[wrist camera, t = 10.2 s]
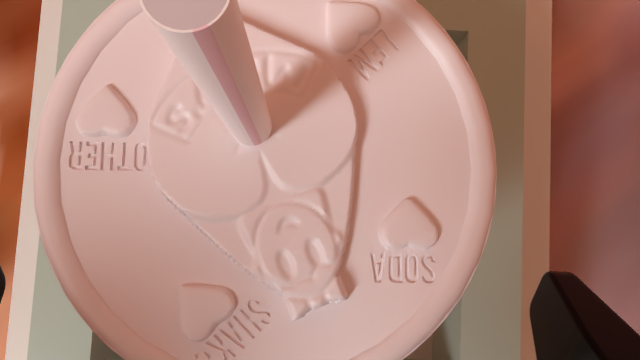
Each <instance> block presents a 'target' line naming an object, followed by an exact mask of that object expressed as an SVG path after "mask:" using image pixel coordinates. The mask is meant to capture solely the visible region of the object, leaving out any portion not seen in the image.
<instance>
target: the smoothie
mask: <svg viewBox="0 0 640 360" xmlns="http://www.w3.org/2000/svg"><path fill="white" fill-rule="evenodd" d="M496 178H497V167H496V152H495V144H494V138H493V131H492V126H491V122H490V118H489V115H488V111H487V107H486V104H485V101H484V98H483V96H482V93H481V90H480V88H479V85H478V83H477V81H476V79H475V77H474V75H473V73H472V71H471V69H470V66H469V65H468V63H467V61H466V60H465V58H464V56H463V55H462V53H461V51H460V50H459V48H458V47H457V45H456V44H455V43H454V41H453V40H452V39H451V37H450V36H449V35H448V33H447V32H446V31H445V29H444V28H443V27H442V26H441V25H440V24H439V23H438V22H437V20H436V19H435V18H434V17H433V16H432V15H431V14H430V13H429V12H428V11H427V10H426V9H425V8H424V7H423V6H421V5H420V4H419V3H418V2H417V1H416V0H116V1H114V2H113V3H112V4H111V5H110V6H109V7H108V8H107V9H106V10H105V11H103V12H102V13H101V14H100V15H99V16H98V17H97V18H96V19H95V20H94V21H93V23H92V24H91V25H90V26H89V27H88V29H87V30H86V31H85V32H84V33H83V34H82V36H81V37H80V38H79V40H78V41H77V43H76V44H75V45H74V47H73V48H72V50H71V51H70V53H69V54H68V55H67V57H66V59H65V61H64V63H63V64H62V66H61V68H60V70H59V72H58V73H57V75H56V77H55V80H54V82H53V84H52V87H51V89H50V91H49V93H48V96H47V99H46V102H45V105H44V108H43V111H42V114H41V117H40V122H39V126H38V131H37V136H36V141H35V149H34V158H33V195H34V207H35V213H36V218H37V223H38V229H39V233H40V236H41V240H42V243H43V246H44V250H45V253H46V255H47V258H48V260H49V263H50V265H51V268H52V270H53V272H54V275H55V277H56V278H57V280H58V282H59V284H60V286H61V288H62V290H63V292H64V293H65V295H66V297H67V298H68V300H69V301H70V303H71V304H72V306H73V307H74V309H75V310H76V311H77V313H78V314H79V316H80V317H81V318H82V319H83V320H84V322H85V323H86V324H87V325H88V326H89V328H90V329H91V330H92V331H93V332H94V333H95V334H96V335H97V336H98V337H99V338H100V339H101V340H102V341H103V342H104V343H105V344H106V345H107V346H108V347H109V348H110V349H111V350H113V351H114V352H115V353H117V354H118V355H119V356H120V357H122V358H123V359H124V360H403V359H404V358H405V357H407V356H408V355H409V354H411V353H412V352H413V351H414V350H416V349H417V348H418V347H419V346H420V345H421V344H422V343H423V342H424V341H425V340H426V339H427V338H429V337H430V336H431V335H432V333H433V332H434V331H435V330H436V329H437V328H438V327H439V326H440V324H441V323H442V322H443V321H444V320H445V319H446V318H447V316H448V315H449V313H450V312H451V311H452V309H453V308H454V306H455V305H456V304H457V302H458V301H459V300H460V298H461V296H462V294H463V293H464V291H465V289H466V288H467V286H468V284H469V282H470V281H471V279H472V277H473V274H474V272H475V270H476V268H477V266H478V263H479V261H480V259H481V256H482V253H483V250H484V247H485V244H486V241H487V239H488V235H489V231H490V226H491V222H492V218H493V212H494V204H495V197H496Z"/></svg>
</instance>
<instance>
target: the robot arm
mask: <svg viewBox="0 0 640 360" xmlns="http://www.w3.org/2000/svg"><path fill="white" fill-rule="evenodd" d="M4 290H5V276H4V273H3V271H2V268H1V266H0V302H1V300H2V297H3V294H4ZM530 321H531V328H532V334H533V340H534V346H535V352H536V358H537V360H640V335H639V334H638V333H636V332H635V331H634V330H633V329H632V328H631V327H630V326H629V325H628V324H627V323H626V322H625V321H624V320H623V319H622V318H620V317H619V316H618V315H617V314H616V313H615V312H614V311H613V310H612V309H611V308H610V307H609V306H608V305H607V304H605V303H604V302H603V301H602V300H601V299H600V298H599V297H598V296H597V295H596V294H595V293H594V292H593V291H592V290H591V289H589V288H588V287H587V286H586V285H585V284H584V283H583V282H582V281H581V280H580V279H579V278H578V277H577V276H575V275H574V274H572V273H570V272H558V271H548V272H546V273H545V274H544V275H543V276H542V278H541V281H540V283H539V285H538V287H537V290H536V292H535V294H534V296H533V298H532V301H531V304H530Z"/></svg>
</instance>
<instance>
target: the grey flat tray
mask: <svg viewBox="0 0 640 360" xmlns="http://www.w3.org/2000/svg"><path fill="white" fill-rule="evenodd" d="M114 1H116V0H42V8H41V18H40V27H39V37H38V47H37V56H36V66H35V75H34V85H33V95H32V104H31V114H30V124H29V133H28V143H27V153H26V162H25V172H24V182H23V191H22V201H21V211H20V220H19V230H18V239H17V249H16V259H15V268H14V278H13V288H12V297H11V307H10V317H9V326H8V336H7V346H6V355H5V360H124V359H123V358H122V357H120V356H119V355H118V354H117V353H115V352H114V351H113V350H111V349H110V348H109V347H108V346H107V345H106V344H105V343H104V342H103V341H102V340H101V339H100V338H99V337H98V336H97V335H96V334H95V333H94V332H93V331H92V330H91V329H90V328H89V326H88V325H87V324H86V323H85V322H84V320H83V319H82V318H81V317H80V316H79V314H78V313H77V311H76V310H75V309H74V307H73V306H72V304H71V303H70V301H69V300H68V298H67V297H66V295H65V293H64V292H63V290H62V288H61V286H60V284H59V282H58V280H57V278H56V277H55V275H54V272H53V270H52V268H51V265H50V263H49V260H48V258H47V255H46V253H45V250H44V246H43V243H42V240H41V236H40V233H39V229H38V223H37V218H36V213H35V207H34V195H33V158H34V149H35V141H36V136H37V131H38V126H39V122H40V117H41V114H42V111H43V108H44V105H45V102H46V99H47V96H48V93H49V91H50V89H51V87H52V84H53V82H54V80H55V77H56V75H57V73H58V72H59V70H60V68H61V66H62V64H63V63H64V61H65V59H66V57H67V55H68V54H69V53H70V51H71V50H72V48H73V47H74V45H75V44H76V43H77V41H78V40H79V38H80V37H81V36H82V34H83V33H84V32H85V31H86V30H87V29H88V27H89V26H90V25H91V24H92V23H93V21H94V20H95V19H96V18H97V17H98V16H99V15H100V14H101V13H102V12H103V11H105V10H106V9H107V8H108V7H109V6H110V5H111V4H112V3H113V2H114ZM416 1H417V2H418V3H419V4H420V5H421V6H423V7H424V8H425V9H426V10H427V11H428V12H429V13H430V14H431V15H432V16H433V17H434V18H435V19H436V20H437V22H438V23H439V24H440V25H441V26H442V27H443V28H444V29H445V31H446V32H447V33H448V35H449V36H450V37H451V39H452V40H453V41H454V43H455V44H456V45H457V47H458V48H459V50H460V51H461V53H462V55H463V56H464V58H465V60H466V61H467V63H468V65H469V66H470V69H471V71H472V73H473V75H474V77H475V79H476V81H477V83H478V85H479V88H480V90H481V93H482V96H483V98H484V101H485V104H486V107H487V111H488V115H489V118H490V122H491V126H492V131H493V138H494V144H495V152H496V167H497V178H496V197H495V204H494V212H493V218H492V222H491V226H490V231H489V235H488V239H487V241H486V244H485V247H484V250H483V253H482V256H481V259H480V261H479V263H478V266H477V268H476V270H475V272H474V274H473V277H472V279H471V281H470V282H469V284H468V286H467V288H466V289H465V291H464V293H463V294H462V296H461V298H460V300H459V301H458V302H457V304H456V305H455V306H454V308H453V309H452V311H451V312H450V313H449V315H448V316H447V318H446V319H445V320H444V321H443V322H442V323H441V324H440V326H439V327H438V328H437V329H436V330H435V331H434V332H433V333H432V335H431V336H430V337H429V338H427V339H426V340H425V341H424V342H423V343H422V344H421V345H420V346H419V347H418V348H417V349H416V350H414V351H413V352H412V353H411V354H409V355H408V356H407V357H405V358H404V359H403V360H537V358H536V352H535V346H534V340H533V334H532V328H531V321H530V304H531V301H532V298H533V296H534V294H535V292H536V290H537V287H538V285H539V283H540V281H541V278H542V276H543V275H544V274H545V273H546V272H548V271H549V256H550V163H551V69H552V0H416Z"/></svg>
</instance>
